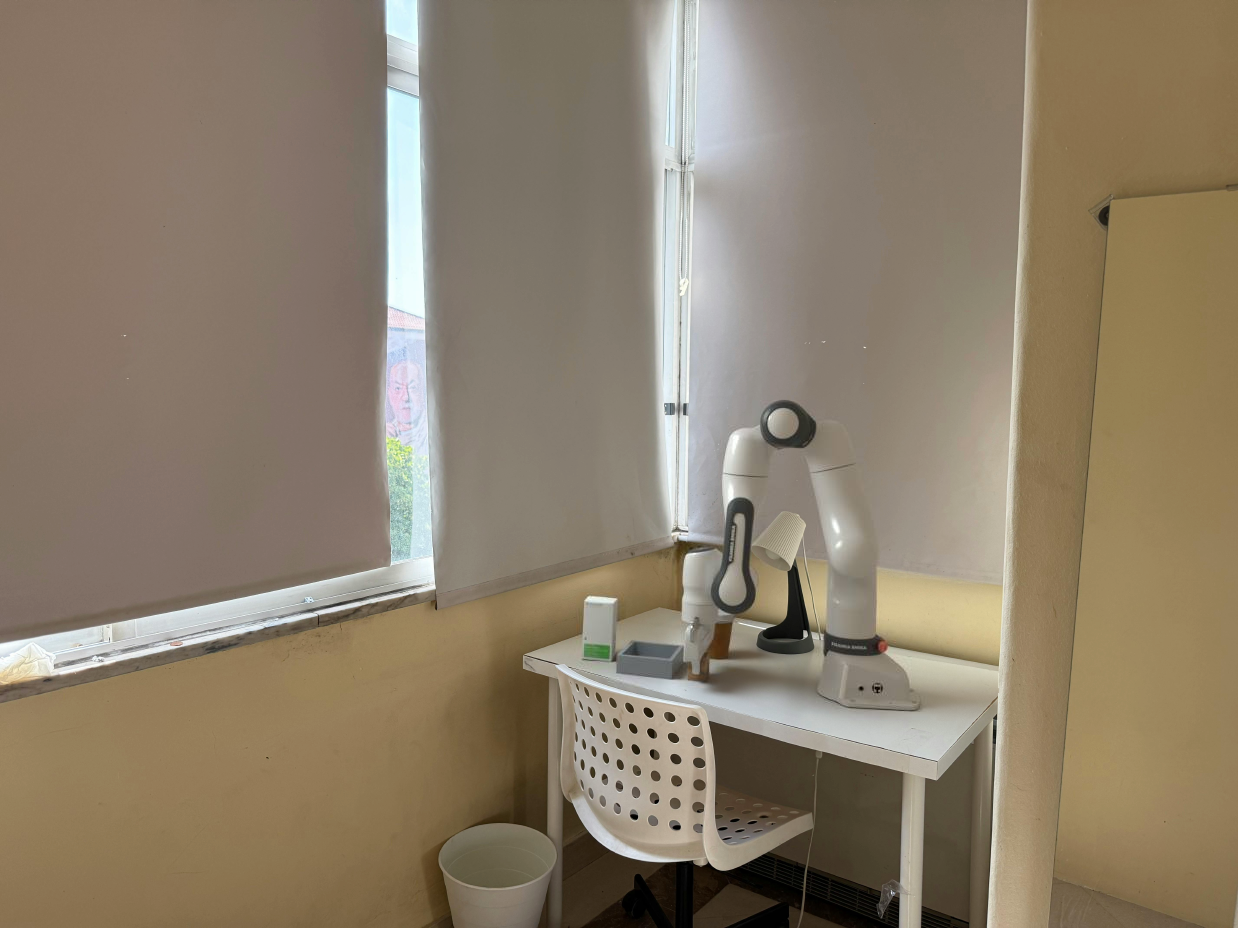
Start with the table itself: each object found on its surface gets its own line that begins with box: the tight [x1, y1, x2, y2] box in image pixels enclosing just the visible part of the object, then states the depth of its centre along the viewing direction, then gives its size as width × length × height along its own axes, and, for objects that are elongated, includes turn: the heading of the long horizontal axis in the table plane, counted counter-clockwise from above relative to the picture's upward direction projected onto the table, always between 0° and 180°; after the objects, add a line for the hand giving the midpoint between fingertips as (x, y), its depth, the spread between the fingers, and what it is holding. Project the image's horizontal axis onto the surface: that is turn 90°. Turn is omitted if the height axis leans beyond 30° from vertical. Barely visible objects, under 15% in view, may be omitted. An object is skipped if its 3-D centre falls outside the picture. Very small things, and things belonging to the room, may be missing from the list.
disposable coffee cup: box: [707, 608, 736, 660], centre depth 203 cm, size 10×10×12 cm
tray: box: [615, 639, 685, 680], centre depth 192 cm, size 14×14×4 cm
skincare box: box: [581, 595, 619, 663], centre depth 200 cm, size 8×7×16 cm
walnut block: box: [687, 652, 711, 683], centre depth 184 cm, size 4×4×6 cm
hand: (698, 669), depth 185 cm, fingers closed on walnut block, 4 cm apart
